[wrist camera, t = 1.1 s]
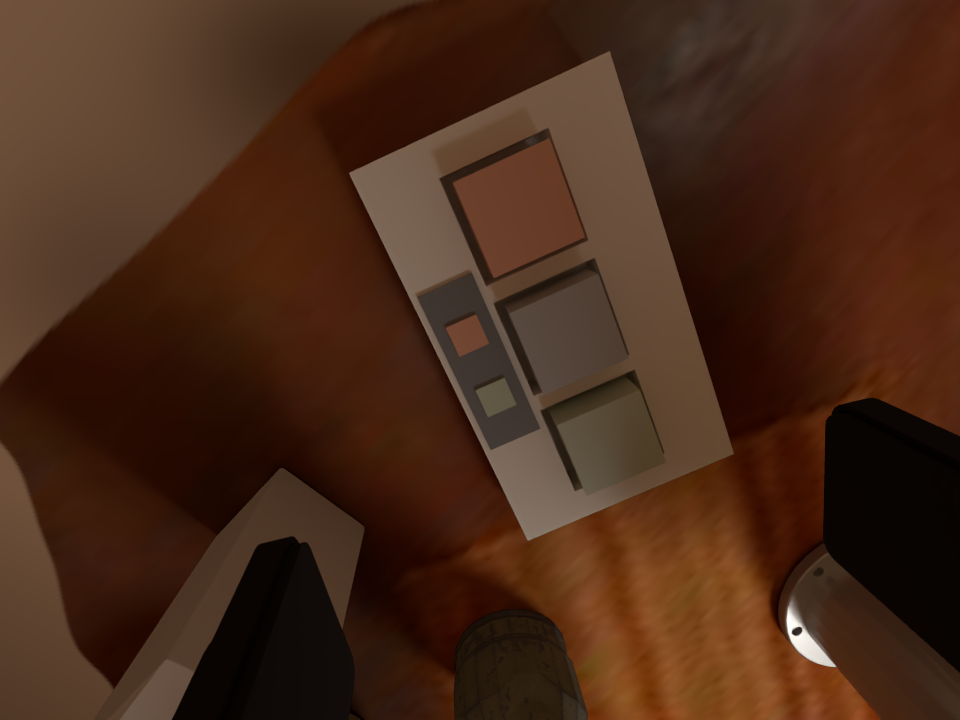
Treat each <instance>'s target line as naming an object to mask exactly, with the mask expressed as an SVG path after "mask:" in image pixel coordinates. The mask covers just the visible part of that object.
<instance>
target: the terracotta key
mask: <svg viewBox="0 0 960 720" xmlns="http://www.w3.org/2000/svg"><path fill="white" fill-rule="evenodd" d="M452 186H453V188H454V191H455V193H456V195H457V198H458V200H459V203H460V205H461V207H462V210H463V212H464V214H465V217H466V219H467V221H468V224H469V226H470V228H471V231H472V233H473V235H474V238H475V240H476V242H477V245H478V247H479V249H480V252H481V254H482V256H483V259H484V261H485V263H486V266H487V268H488V270H489V272H490V274H491V275H492V276H493V278H496V277H498V276H500V275H502V274H505V273H507V272H509V271H511V270H513V269H516V268H518V267H520V266H522V265H525V264H527V263H529V262H531V261H534V260H536V259H538V258H540V257H542V256H545V255H547V254H549V253H551V252H554V251H556V250H558V249H560V248H562V247H565V246H567V245H569V244H571V243H574V242H576V241H578V240H580V239H582V238H585V236H584V233H583V230H582V227H581V224H580V222H579V219H578V216H577V213H576V211H575V208H574V205H573V202H572V199H571V197H570V194H569V191H568V188H567V186H566V183H565V180H564V177H563V174H562V172H561V169H560V166H559V163H558V161H557V158H556V155H555V152H554V149H553V147H552V144H551V141H550V138H548V139H546V140H544V141H542V142H540V143H538V144H535V145H533V146H531V147H529V148H527V149H525V150H522V151H520V152H518V153H516V154H514V155H512V156H509V157H507V158H505V159H503V160H501V161H499V162H496V163H494V164H492V165H490V166H488V167H486V168H483V169H481V170H479V171H477V172H475V173H473V174H470V175H468V176H466V177H464V178H462V179H460V180H457V181H455V182H453V183H452Z"/></svg>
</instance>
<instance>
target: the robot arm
mask: <svg viewBox="0 0 960 720" xmlns="http://www.w3.org/2000/svg"><path fill="white" fill-rule="evenodd" d="M823 540H824V543H823V544H821V545H820V546H818V547H817V548H815V549H814V550H813V551H812V552H810V553H809V554H808V555H807V556H806V557H805V558H804V559H803V560H802V561H801V562H800V563H799V564H798V565H797V566H796V567H795V569H794V570H793V572H792V573H791V575H790V576H789V578H788V579H787V581H786V583H785V585H784V588H783V590H782V592H781V596H780V600H779V605H778V619H779V623H780V627H781V630H782V632H783V633H784V635H785V637H786V639H787V640H788V641H789V642H790V644H791V645H792V646H793V647H794V649H795V650H796V651H797V652H798V653H800V654H801V655H802V656H803V657H804V658H806V659H808V660H810V661H812V662H814V663H817V664H821V665H825V666H830V667H837V668H838V669H839V671H840V672H841V673H842V674H843V675H844V676H845V677H846V679H847V680H848V681H849V682H850V683H851V684H852V686H853V687H854V688H855V689H856V690H857V691H858V693H859V694H860V695H861V696H862V697H863V698H864V700H865V701H866V702H867V703H868V704H869V705H870V707H871V708H872V709H873V710H874V711H875V712H876V714H877V715H878V716H879V717H880V718H881V719H882V720H960V436H958V435H956V434H954V433H951V432H949V431H947V430H945V429H943V428H940V427H938V426H936V425H934V424H932V423H929V422H927V421H925V420H923V419H921V418H919V417H916V416H914V415H912V414H910V413H908V412H905V411H903V410H901V409H899V408H897V407H894V406H892V405H890V404H888V403H886V402H884V401H881V400H879V399H875V398H867V399H862V400H858V401H854V402H850V403H846V404H842V405H838V406H837V407H835V408H834V410H833V412H832V415H831V416H830V417H828V419H827V420H826V425H825V474H824V523H823ZM354 678H355V669H354V661H353V657H352V654H351V651H350V648H349V646H348V643H347V641H346V638H345V635H344V633H343V630H342V628H341V625H340V623H339V620H338V617H337V615H336V612H335V610H334V607H333V604H332V602H331V599H330V597H329V594H328V591H327V589H326V586H325V584H324V581H323V578H322V576H321V573H320V571H319V568H318V565H317V563H316V560H315V558H314V555H313V552H312V550H311V548H310V546H309V544H308V543H307V542H302V543H299V542H298V540H297V539H296V538H295V537H293V536H290V537H286V538H282V539H278V540H273V541H269V542H265V543H261V544H259V545H258V546H257V547H256V548H255V550H254V552H253V554H252V557H251V559H250V561H249V563H248V565H247V567H246V569H245V571H244V574H243V576H242V578H241V580H240V582H239V584H238V586H237V588H236V590H235V593H234V595H233V597H232V599H231V601H230V603H229V605H228V607H227V610H226V612H225V614H224V616H223V618H222V620H221V622H220V624H219V626H218V629H217V631H216V633H215V635H214V637H213V639H212V641H211V642H210V644H209V645H208V647H207V648H206V650H205V651H204V653H203V655H202V657H201V659H200V662H199V664H198V666H197V668H196V670H195V672H194V674H193V676H192V678H191V680H190V683H189V685H188V687H187V689H186V691H185V693H184V695H183V697H182V699H181V701H180V703H179V706H178V708H177V710H176V712H175V714H174V716H173V718H172V720H349V714H350V707H351V700H352V693H353V686H354Z"/></svg>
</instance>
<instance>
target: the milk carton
mask: <svg viewBox="0 0 960 720" xmlns="http://www.w3.org/2000/svg"><path fill="white" fill-rule="evenodd" d="M363 534H364V526H363V525H361V524H360V523H359V522H358V521H356V520H355V519H353V518H352V517H351V516H349V515H348V514H346V513H345V512H344V511H342V510H341V509H340V508H338V507H337V506H335V505H334V504H333V503H331V502H330V501H328V500H327V499H326V498H324V497H323V496H322V495H320V494H319V493H317V492H316V491H315V490H313V489H312V488H310V487H309V486H308V485H306V484H305V483H304V482H302V481H301V480H299V479H298V478H297V477H295V476H294V475H292V474H291V473H290V472H288V471H287V470H285V469H284V468H280V469H279V470H278V471H277V472H276V473H275V474H274V475H273V476H272V477H271V478H270V480H269V481H268V482H267V483H266V484H265V485H264V486H263V487H262V488H261V489H260V490H259V491H258V492H257V493H256V495H255V496H254V497H253V498H252V499H251V500H250V501H249V502H248V503H247V504H246V505H245V506H244V507H243V508H242V510H241V511H240V512H239V513H238V514H237V515H236V516H235V517H234V518H233V519H232V520H231V521H230V522H229V524H228V525H227V526H226V527H225V528H224V529H223V530H222V531H221V532H220V533H219V534H218V535H217V536H216V538H215V539H214V540H213V542H212V543H211V545H210V546H209V548H208V549H207V551H206V552H205V554H204V555H203V557H202V558H201V560H200V561H199V563H198V564H197V566H196V567H195V569H194V570H193V572H192V573H191V575H190V576H189V578H188V579H187V581H186V582H185V584H184V585H183V587H182V588H181V590H180V591H179V593H178V594H177V596H176V597H175V599H174V600H173V602H172V603H171V605H170V606H169V608H168V609H167V611H166V612H165V614H164V615H163V617H162V618H161V620H160V621H159V623H158V624H157V626H156V627H155V629H154V630H153V632H152V633H151V635H150V636H149V638H148V639H147V641H146V642H145V644H144V645H143V647H142V648H141V650H140V651H139V653H138V654H137V656H136V657H135V659H134V660H133V662H132V663H131V665H130V666H129V668H128V669H127V671H126V672H125V674H124V675H123V677H122V678H121V680H120V681H119V683H118V684H117V686H116V687H115V689H114V690H113V692H112V694H111V695H110V696H109V698H108V699H107V701H106V703H105V704H104V705H103V707H102V708H101V710H100V711H99V713H98V714H97V716H96V717H95V719H94V720H172V718H173V716H174V714H175V712H176V710H177V708H178V706H179V703H180V701H181V699H182V697H183V695H184V693H185V691H186V689H187V687H188V685H189V683H190V680H191V678H192V676H193V674H194V672H195V670H196V668H197V666H198V664H199V662H200V659H201V657H202V655H203V653H204V651H205V650H206V648H207V647H208V645H209V644H210V642H211V641H212V639H213V637H214V635H215V633H216V631H217V629H218V626H219V624H220V622H221V620H222V618H223V616H224V614H225V612H226V610H227V607H228V605H229V603H230V601H231V599H232V597H233V595H234V593H235V590H236V588H237V586H238V584H239V582H240V580H241V578H242V576H243V574H244V571H245V569H246V567H247V565H248V563H249V561H250V559H251V557H252V554H253V552H254V550H255V548H256V547H257V546H258V545H259V544H261V543H265V542H269V541H273V540H278V539H282V538H286V537H290V536H293V537H295V538H296V539H297V540H298V542H299V543H302V542H307V543H308V544H309V546H310V548H311V550H312V552H313V555H314V558H315V560H316V563H317V565H318V568H319V571H320V573H321V576H322V578H323V581H324V584H325V586H326V589H327V591H328V594H329V597H330V599H331V602H332V604H333V607H334V610H335V612H336V615H337V617H338V620H339V623H340V625H341V628H343V623H344V619H345V614H346V610H347V606H348V601H349V597H350V592H351V588H352V583H353V579H354V574H355V570H356V566H357V561H358V557H359V552H360V548H361V543H362V539H363Z"/></svg>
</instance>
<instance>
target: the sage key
mask: <svg viewBox="0 0 960 720" xmlns="http://www.w3.org/2000/svg"><path fill="white" fill-rule="evenodd" d="M548 410H549V413H550V415H551V417H552V420H553V422H554V424H555V427H556V429H557V431H558V434H559V436H560V438H561V441H562V443H563V445H564V448H565V450H566V452H567V455H568V457H569V459H570V462H571V464H572V466H573V469H574V471H575V473H576V475H577V477H578V479H579V481H580V483H581V485H582V487H583V489H584V491H585V493H586V495H587V496H588V495H590V494H593V493H595V492H597V491H600V490H602V489H604V488H607V487H609V486H611V485H614V484H616V483H619V482H621V481H623V480H626V479H628V478H630V477H633V476H635V475H637V474H640V473H642V472H645V471H647V470H649V469H652V468H654V467H656V466H659V465H661V464H664V463H666V461H665V458H664V455H663V453H662V450H661V447H660V444H659V441H658V439H657V436H656V433H655V430H654V428H653V425H652V422H651V419H650V416H649V414H648V411H647V408H646V405H645V403H644V400H643V397H642V394H641V391H640V389H639V388H638V387H636V386H635V385H634V384H633V383H632V382H631V381H630V380H629V379H628V378H627V377H626V376H625V375H624V376H621V377H619V378H617V379H614V380H612V381H610V382H607V383H605V384H603V385H600V386H598V387H596V388H594V389H591V390H589V391H587V392H584V393H582V394H580V395H577V396H575V397H573V398H570V399H568V400H566V401H564V402H561V403H559V404H557V405H554V406H552V407H550V408H548Z"/></svg>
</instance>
